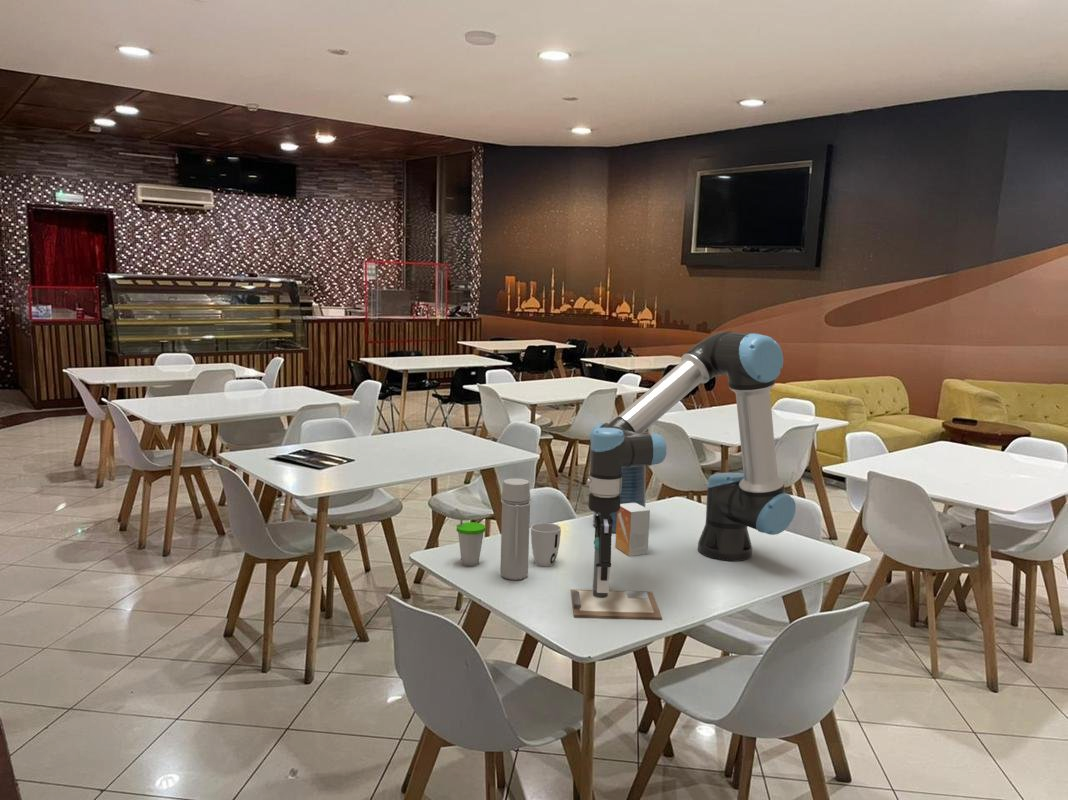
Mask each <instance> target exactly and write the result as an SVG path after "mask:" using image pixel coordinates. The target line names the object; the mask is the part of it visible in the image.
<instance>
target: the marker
mask: <svg viewBox="0 0 1068 800" xmlns="http://www.w3.org/2000/svg"><path fill="white" fill-rule="evenodd" d="M594 539H595V545H594V546H595V548H594V552H595V556H594V555H593V558H594V559H593V560H594V561H593V575H594V576H593V579H592V580H593V582H592V590H593V596H595V597H598V598H605V597H607V596H608V593H597V576H598V567H596V564H599V538H598V537H596V538H595V537H594ZM603 562H607V561H603Z"/></svg>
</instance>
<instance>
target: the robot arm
mask: <svg viewBox="0 0 1068 800" xmlns="http://www.w3.org/2000/svg"><path fill="white" fill-rule="evenodd" d="M783 367H784V355H783V350H782V349H781V346H780V344H779V343H778V342H777V341H776V340H774V338H773V337H771V336H769V335H765V334H760V333H756V332H755V333H754V332H753V333H752V332H750V333H749V332H739V331H738V332H736V331H729V330H728V331H727V330H726V331H720V332H717V333H713V334H711V335H709V336H708V337H706V338H704V339H702V340H701V341H699V342H698V343H696V344H695V345H694V346H692V347H691V348H690V349H688V350H687V352H685V353H684V354H683V355H682V356H681V358H680V362H679V363H677V365H676V366H674V367H673V368H672V369H671V370H670V371H669V372H667V373H666V374H665V375H664V376H663V377H662V378H661V379H659V380H658V381H657V382H656V383H655V384H654V385H653V386H651V387H650V388H649V389H648V390H646V392H644V393H643V394H642V395H641V396H640V397H638V398H637V399H636V400H635V401H634V402H633V403H631V404H630V405H629V406H628V407H627V408H626V409H624V410H623V411H622V412H621V413H619V415H617V416H616V417H615V418H614V419H613V420H612V421H610V422H609V423H608V422H602V423H597V424H596V425H595V426H594V427H592V429H591V432H590V433H589V440H590V441H589V442H590V446H589V447H590V448H589V449H590V460H589V461H590V463H589V478H588V479H587V480H586V483H587V484H589V492H590V493H589V494H588V505H587V507H588V509H589V510H590V511H592V512H593V513H594V512H596V515H595V525H594V539H593V540H594V541H593V545H594V549H595V538H596V537H598V538H599V564H596V567H598V576H597V593H609V590H610V571H611V567H612V535H613V533H612V525H613V519H612V516H610V514H611V513H615V512H618V511H619V510H620V501H621V496H620V495H619V494H620V493H621V485H622V468H626V467H636V466H646V467H647V466H648V467H651V466H654V465H659V464H662V463H663V462H664V460H666V456H667V449H668V448H667V443H666V441H665V439H664V437H663V436H662V435H660V434H659V433H646V434H645V433H644V432H646V431H647V430H648V429H649V428H650V427H651V426H652V425H653V424H655V423H656V422H657V421H658V420H659V419H661V418H662V416H664V415H665V414H666V413H667V412H669V411H670V410H671V409H672V408H674V407H675V405H677V404H678V403H679V402H680V401H681V400H683V398H685V397H686V396H688V394H689V393H690V392H692V391H693V390H694V389H695V388H696V387H697V386H699V384H706V383H708V382H709V381H710V380H712V379H713V378H715V377H718V376H727V382H728V389H729V390H731V392H734V393H735V399H736V409H737V420H738V429H739V430H738V431H739V439H740V440H739V441H740V451H741V462H742V468H743V469H742V470H743V473H742V472H719V473H714V474H711V475H710V476H709V478H708V483H707V490H706V509H705V510H706V512H705V524H704V527H703V529H702V531H701V534H700V536H699V540H698V541H697V551H698V552H699V553H700V554H701V555H704V556H706V557H708V558H711V559H715V560H719V559H720V560H721V561H734V562H735V560H739V561H744V559H745V560H747V559H750V558H751V557H752V556H753V555H752V554H753V546H752V542H751V538H750V534H749V530H748V527H749V528H751V529H754V530H756V531H758V532H759V533H763V534H766V535H771V536H775V535H779V534H781V533H783V532H784V531H786V529H788V527H789V526H790V525H791V523H792V521H793V520H794V518H795V514H796V508H797V507H796V501H795V499H794V498H793V496H791V495H790V494H788V493H786V490H785V488H786V487H785V482H784V480H783V479H782V477H780V476H779V475H778V469H777V467H778V466H777V465H778V464H777V457H776V445H775V436H774V435H775V434H774V423H773V422H774V420H773V411H772V400H771V399H772V398H771V389H772V388H773V387H774V386H775V385H776V379H777V378H778V377H779V376H780V374H781V373H782V372H781V370H782V369H783ZM643 433H644V434H643ZM594 556H595V551H594V555H593V557H594ZM603 561H607V562H603ZM593 577H594V574H593Z"/></svg>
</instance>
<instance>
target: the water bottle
mask: <svg viewBox="0 0 1068 800" xmlns="http://www.w3.org/2000/svg"><path fill="white" fill-rule="evenodd" d="M501 490H502V491H501V498H500V503H501V527H500V528H501V533H500V538H501V539H500V568H499V569H500V571H499V572H500V575H501V576H502V578H503V579H507V580H511V581H518V580H522V579H525V578H526V577H527V576H528V574H529V556H530V555H529V552H530V551H529V550H530V524H531V523H530V520H531V518H530V515H531V504H532V502H533V500H532V498H531V489H530V481H529V480H527V479H524V478H517V477H516V478H508V479H507V478H506V479H504V480H503V483H502V489H501Z"/></svg>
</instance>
